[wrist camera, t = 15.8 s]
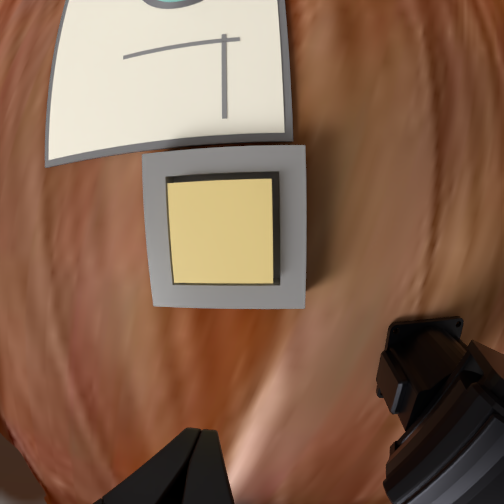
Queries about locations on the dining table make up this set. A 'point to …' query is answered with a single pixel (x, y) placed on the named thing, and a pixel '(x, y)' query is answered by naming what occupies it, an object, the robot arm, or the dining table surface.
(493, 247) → the dining table surface
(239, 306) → the button housing
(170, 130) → the drawing board
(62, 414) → the dining table surface
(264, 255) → the button
